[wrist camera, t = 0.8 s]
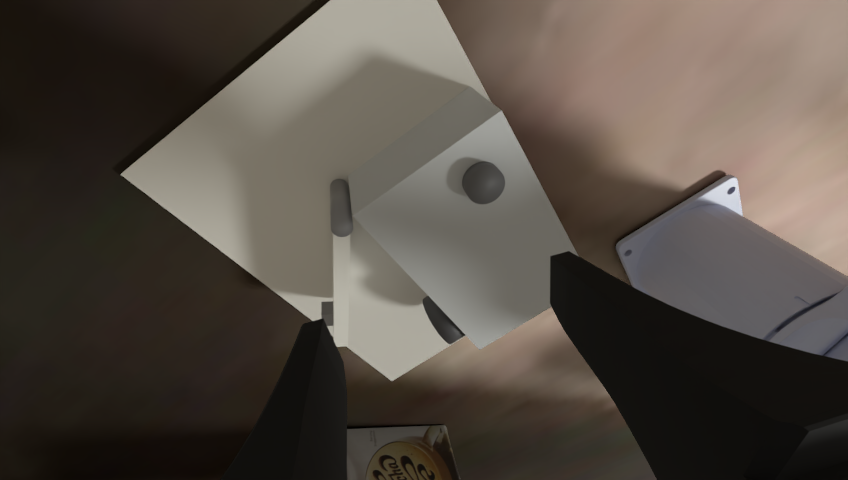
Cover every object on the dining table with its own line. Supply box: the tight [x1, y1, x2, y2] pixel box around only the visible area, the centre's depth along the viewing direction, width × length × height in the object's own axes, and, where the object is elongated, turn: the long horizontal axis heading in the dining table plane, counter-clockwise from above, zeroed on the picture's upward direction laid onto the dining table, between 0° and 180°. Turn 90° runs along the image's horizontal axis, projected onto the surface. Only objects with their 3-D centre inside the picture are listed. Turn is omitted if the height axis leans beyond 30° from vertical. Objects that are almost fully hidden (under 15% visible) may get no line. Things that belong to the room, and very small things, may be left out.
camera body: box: [348, 86, 578, 350], centre depth 20 cm, size 11×8×5 cm
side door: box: [321, 179, 353, 347], centre depth 20 cm, size 8×1×4 cm, turn 173°
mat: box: [120, 0, 492, 381], centre depth 22 cm, size 20×15×1 cm
